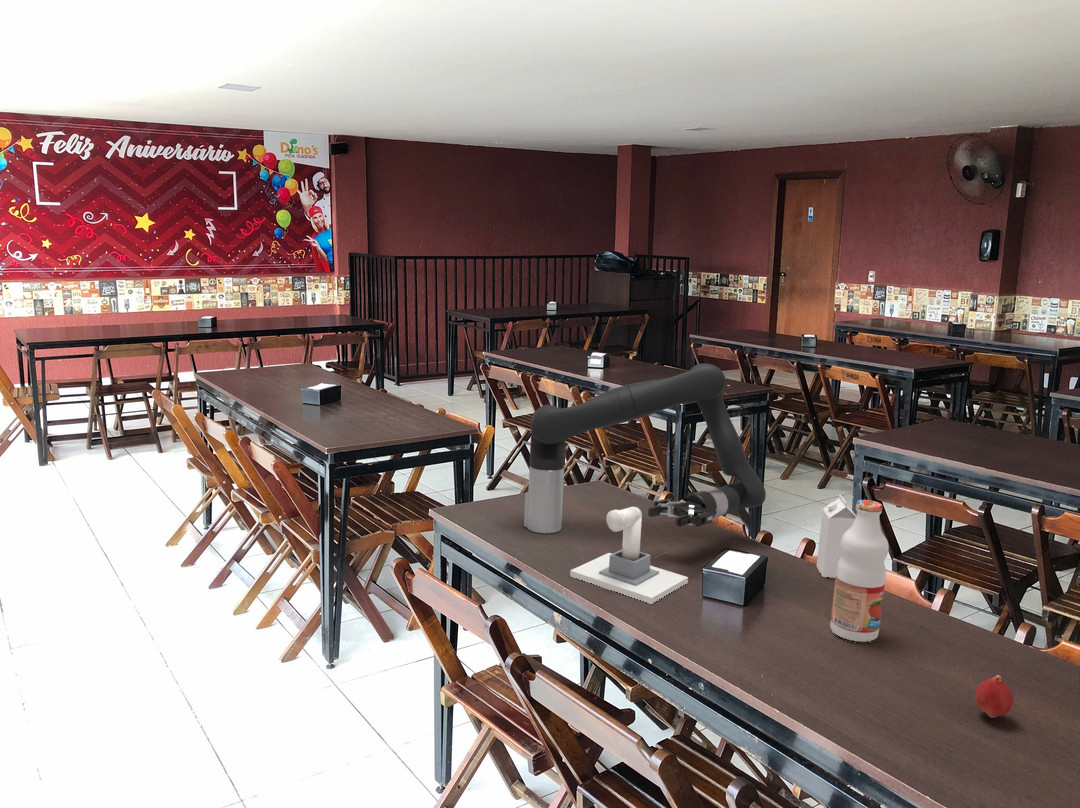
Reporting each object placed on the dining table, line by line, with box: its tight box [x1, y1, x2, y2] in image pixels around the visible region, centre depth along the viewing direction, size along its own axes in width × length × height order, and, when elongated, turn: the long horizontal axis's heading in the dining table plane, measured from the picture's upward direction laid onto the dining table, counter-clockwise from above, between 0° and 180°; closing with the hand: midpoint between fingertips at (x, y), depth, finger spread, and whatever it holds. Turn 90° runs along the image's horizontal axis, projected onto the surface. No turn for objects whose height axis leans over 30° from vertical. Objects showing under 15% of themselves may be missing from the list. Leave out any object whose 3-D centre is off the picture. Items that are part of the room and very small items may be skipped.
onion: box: [974, 674, 1015, 717], centre depth 148 cm, size 6×6×8 cm
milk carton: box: [816, 493, 857, 579], centre depth 209 cm, size 7×7×19 cm
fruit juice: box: [829, 499, 889, 642], centre depth 176 cm, size 9×9×28 cm
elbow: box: [605, 506, 643, 561], centre depth 198 cm, size 8×5×16 cm, turn 131°
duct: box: [569, 549, 689, 605], centre depth 201 cm, size 22×16×6 cm
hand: (662, 517), depth 206 cm, fingers open, 8 cm apart
